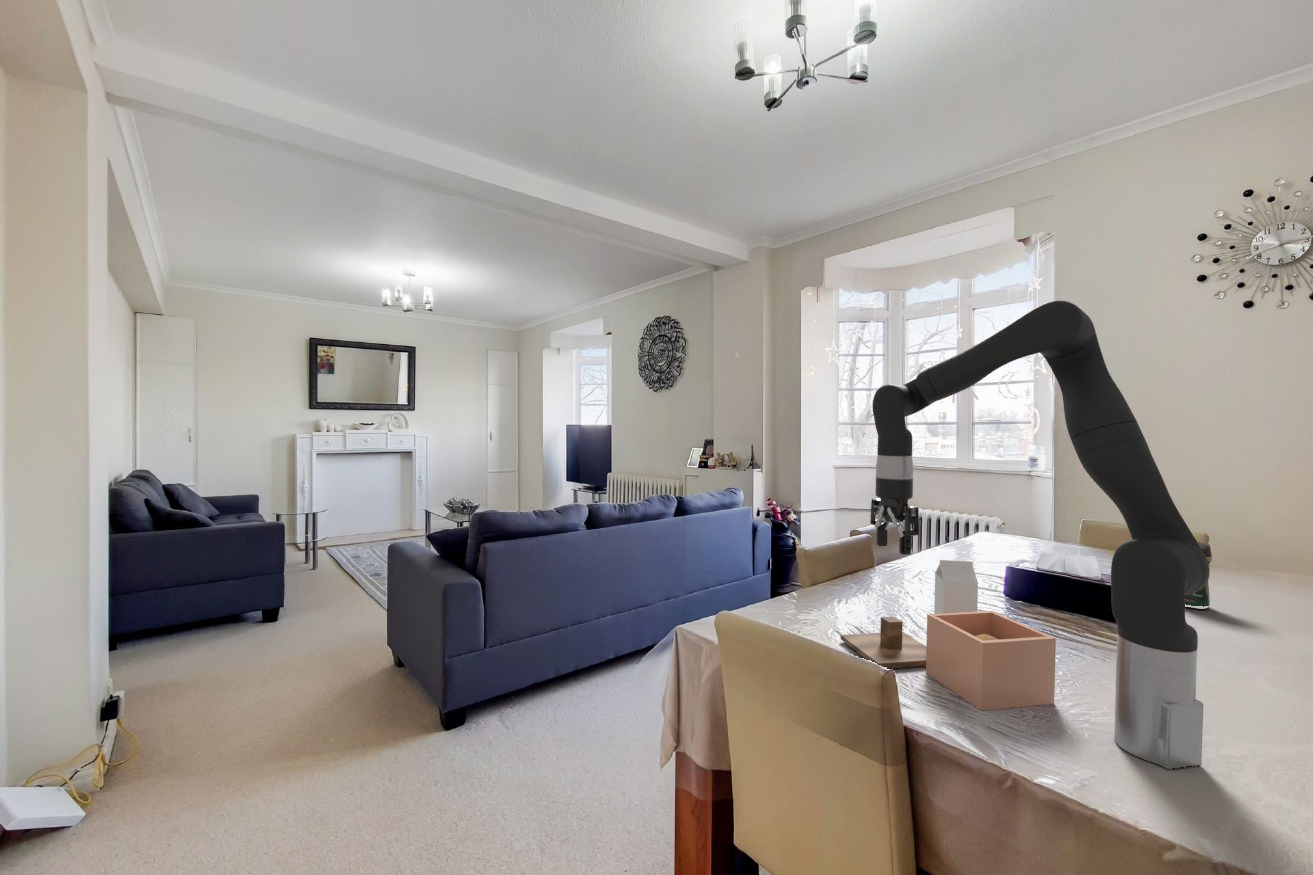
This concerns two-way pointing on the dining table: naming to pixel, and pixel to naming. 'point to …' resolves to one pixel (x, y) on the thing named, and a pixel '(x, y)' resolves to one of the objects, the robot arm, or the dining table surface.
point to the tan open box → (991, 659)
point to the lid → (888, 645)
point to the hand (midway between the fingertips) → (892, 549)
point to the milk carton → (955, 587)
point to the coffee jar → (1203, 595)
